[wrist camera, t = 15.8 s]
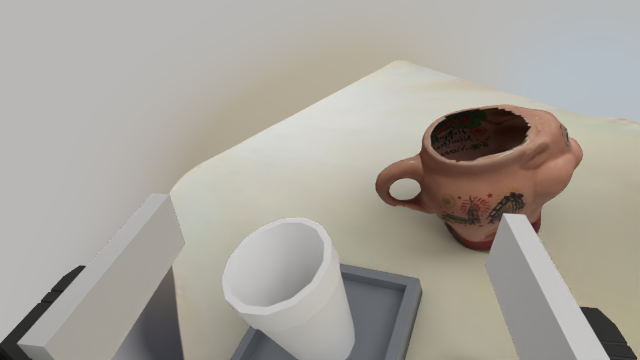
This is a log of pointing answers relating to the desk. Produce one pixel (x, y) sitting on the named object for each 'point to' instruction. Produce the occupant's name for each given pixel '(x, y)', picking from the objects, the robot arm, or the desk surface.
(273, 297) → the foam cup
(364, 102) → the desk surface
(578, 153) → the sculpted ceramic mug
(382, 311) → the charcoal tray
